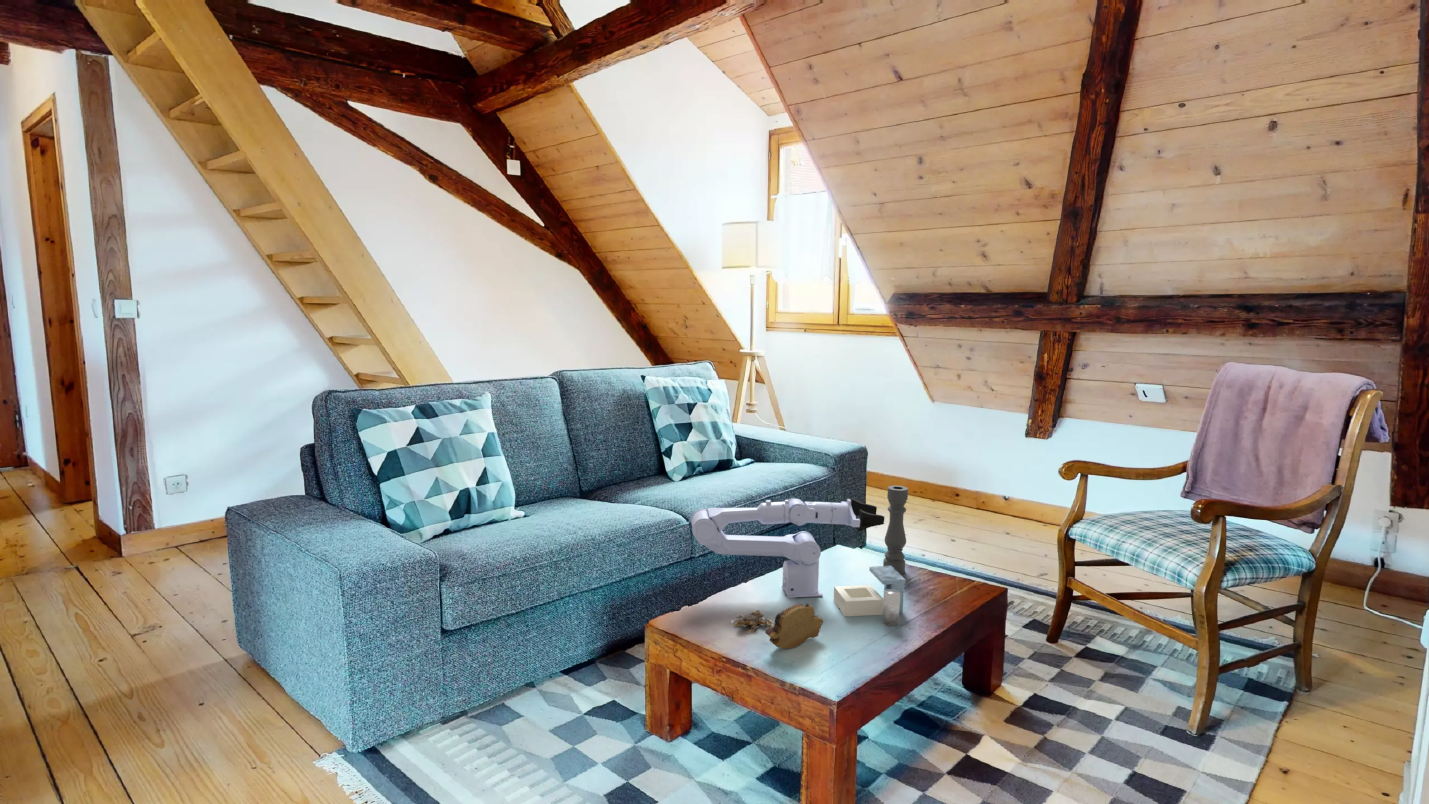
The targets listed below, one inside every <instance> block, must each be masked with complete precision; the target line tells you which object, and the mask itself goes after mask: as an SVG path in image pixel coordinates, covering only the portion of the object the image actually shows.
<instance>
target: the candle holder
mask: <svg viewBox="0 0 1429 804" xmlns="http://www.w3.org/2000/svg"><path fill="white" fill-rule="evenodd" d="M886 494H887V497H886V498H887V500H888V504H889V506H888V507H887V511H888V512H889V522H888V526H887V530H886V533H885V536H884V543H885V545H886V547H887V548H886V549H887V551H886V552H885V553H884V558H883V563H882V566H892V567H893V568H894V569H895V570H896V571H897V572H898V573H899V574H900V575H901V576H903V575H904V574H905V573H906V560H905V557H906V556H905V554H904V553H903V550H904V547H905V545H906V543H907V537H906V531H905V527H904V515H905V513H906V511H907V508H906V507H905V505H906V503H907V501H908V499H909V498H908V496H909V487H906V486H904V485H903V486H902V485H890V486H887V493H886Z"/></svg>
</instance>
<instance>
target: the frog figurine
mask: <svg viewBox="0 0 1429 804" xmlns="http://www.w3.org/2000/svg"><path fill="white" fill-rule="evenodd" d="M735 620H736V621H735ZM730 623H731V624H732V623H733V627H734V628H735V627H742V628H744V627H745V628H750V629H748V630H747V633H748V632H749V633H748V634H754V633H756V631H755V629H758V628H759V627H761V626H762V625H763V626H764V628H765V629H766V628H768V629H770V628H773V627H774V625H775V620H773V619H771V618H770V617H768V618H766V617H764V614H763V613H762V612H761V611H760V610H756V611H752V612H751V613H746V614H744V613H743V615H739V616H736V617H734V618H733V619H731V621H730Z"/></svg>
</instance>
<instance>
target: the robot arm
mask: <svg viewBox="0 0 1429 804" xmlns="http://www.w3.org/2000/svg"><path fill="white" fill-rule="evenodd" d="M877 510H878V507H877V506H876V505H873V504H868V503H865V502H862V501H859V500H857V499H855V498H854V497H849V498H846V501H840V502H832V501H831V502H830V501H802V500H801V499H799V498H794V497H792V498H789V499H784V501H773V502H772V501H771V499H766V500H765V502H760V504H759V505H758V506H756V507H708V508H706V509H705V508H700V509H697V510H695V511H694V512H693V513H692V515H691V518H690V524H691V527H692V529H691V531H692V535H693V536H694V538H695V540H696V541H697V542H698V544H699V545H703V547H706V548H707V549H709V550H711V551H712V552H713V553H715V554H717V555H729V556H730V555H731V556H733V555H734V556H757V557H758V556H762V557H763V556H764V557H784V558H787V559H789V560H785V561H783V566H782V585H781V588H782V590H783V591H784V593H785V595H786V596H787V597H788V598H790V599H791V598H811V597H814V598H815V597H823V593H822V592H821V590H820V589H819V577H820V576H819V574H820V572H819V571H820V569H819V568H820V557H821V554H822V553H821V552H822V550H821V547H820V546H819V544H818V543H817V542H816V540H815V538H814V536H813V534H811V533H810V532H809V531H806V530H804V531H802V530H801V531H798V532H797V533H794V534H793V533H791V534H786V535H784V536H772V535H771V536H770V535H769V536H768V535H767V536H766V535H742V534H741V535H739V534H737V535H736V534H726V533H725V532H724V531H723V529H724V528H726V526H727V525H728V524H734V523H743V522H753V521H758V522H759V523H761V524H762V525H773V524H775V525H776V524H788V523H791V524H794V525H797V526H798V527H799V526H803V525H805V524H808V523H810V524H827V525H828V524H829V525H845V526H849V527H850V526H851V527H852V528H855V530H856V531H857V532H862V531H865V530H867V529H869V528H872V527H878V526H883V525H884V524H885V516H884V515H880V514H877V512H878V511H877Z"/></svg>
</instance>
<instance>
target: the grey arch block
mask: <svg viewBox="0 0 1429 804" xmlns="http://www.w3.org/2000/svg"><path fill="white" fill-rule="evenodd" d="M869 572H870V573H871V574H872V575H873V576H874V577H875V578H876V580H878V581H879V583H881V585H884V588H883V591H884V590H886V589H894V590H898V591H899V592H900V608H899V614H903V613H904V593H905V591H904V589H905V584H906V581H907V580H906V578H904V577H903V575H900V574H899V573H898V572H897V571H896V570H895V569H894V568H893V567H892V566H883V565H882V566H881V565H880V566H879V565H878V566H869Z"/></svg>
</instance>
